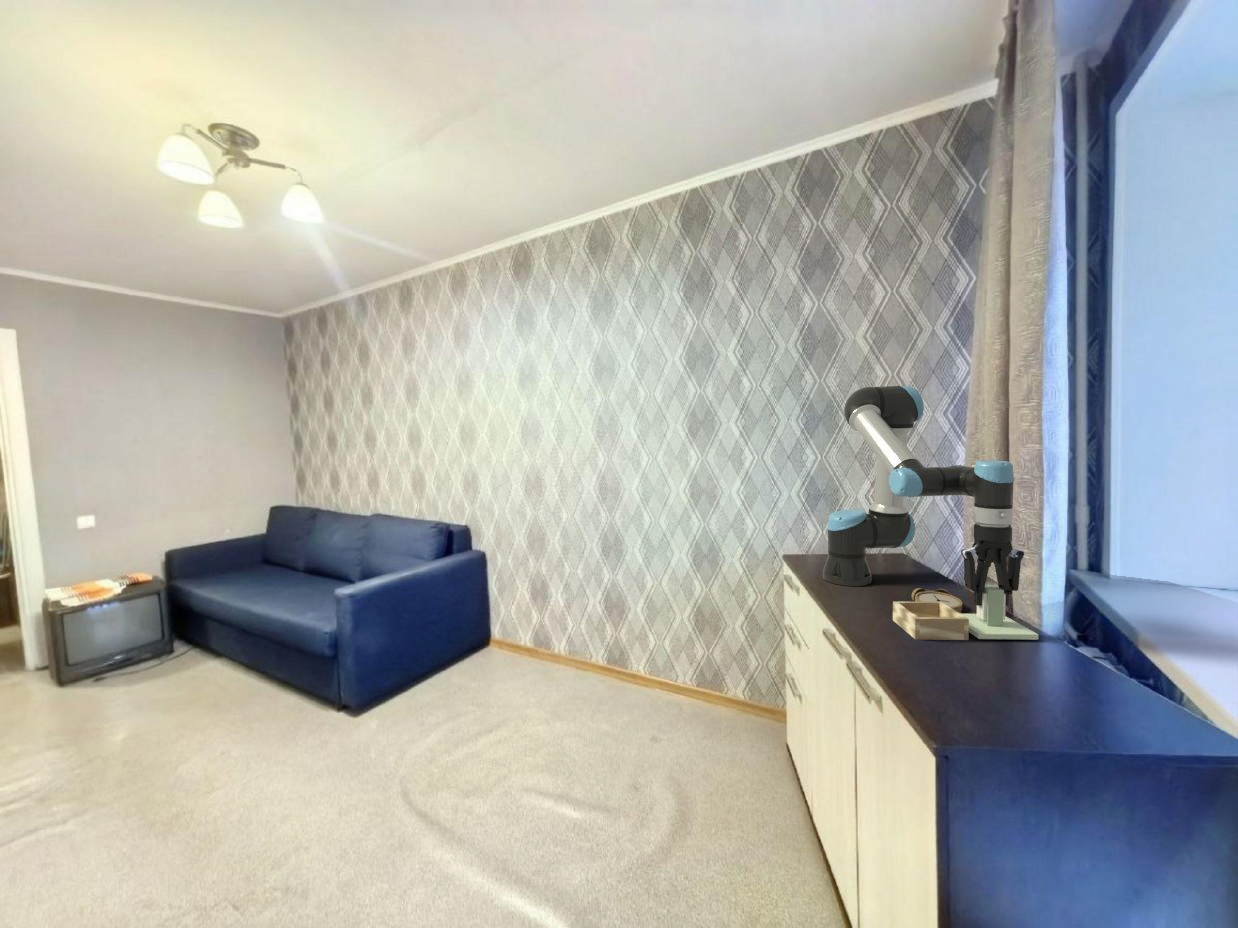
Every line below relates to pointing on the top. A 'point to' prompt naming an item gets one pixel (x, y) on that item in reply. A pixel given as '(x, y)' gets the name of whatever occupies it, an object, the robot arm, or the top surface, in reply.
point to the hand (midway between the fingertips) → (990, 617)
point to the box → (931, 621)
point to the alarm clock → (937, 598)
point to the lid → (997, 620)
